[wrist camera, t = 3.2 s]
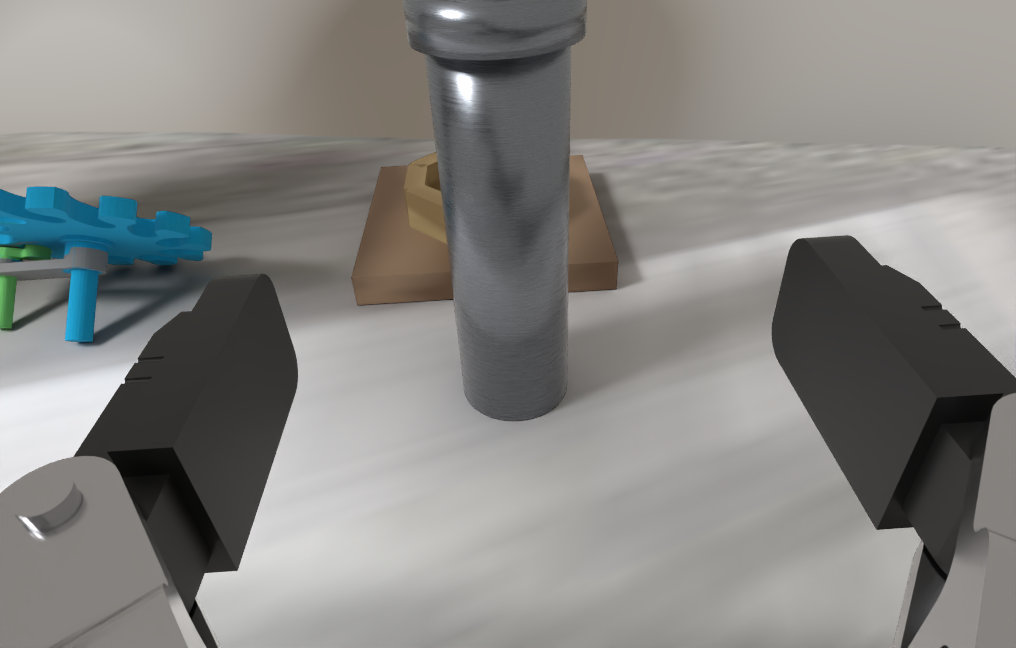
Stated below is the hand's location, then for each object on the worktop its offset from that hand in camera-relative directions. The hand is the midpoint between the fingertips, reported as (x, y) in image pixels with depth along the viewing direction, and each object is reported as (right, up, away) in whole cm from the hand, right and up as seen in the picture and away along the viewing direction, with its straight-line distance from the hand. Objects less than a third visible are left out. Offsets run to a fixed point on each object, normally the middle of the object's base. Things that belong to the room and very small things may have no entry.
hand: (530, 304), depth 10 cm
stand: (-2, +5, +25) cm, 25 cm away
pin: (0, -3, +15) cm, 15 cm away
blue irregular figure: (-19, +1, +21) cm, 29 cm away
